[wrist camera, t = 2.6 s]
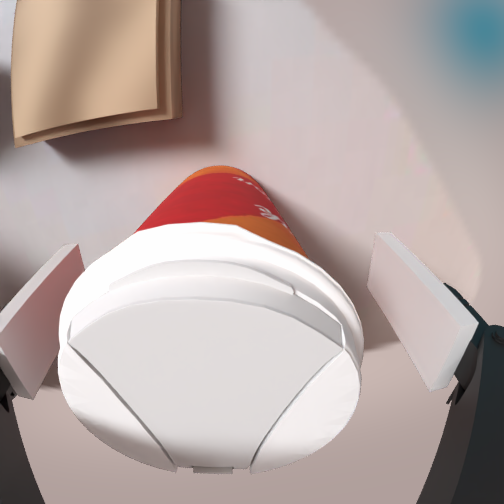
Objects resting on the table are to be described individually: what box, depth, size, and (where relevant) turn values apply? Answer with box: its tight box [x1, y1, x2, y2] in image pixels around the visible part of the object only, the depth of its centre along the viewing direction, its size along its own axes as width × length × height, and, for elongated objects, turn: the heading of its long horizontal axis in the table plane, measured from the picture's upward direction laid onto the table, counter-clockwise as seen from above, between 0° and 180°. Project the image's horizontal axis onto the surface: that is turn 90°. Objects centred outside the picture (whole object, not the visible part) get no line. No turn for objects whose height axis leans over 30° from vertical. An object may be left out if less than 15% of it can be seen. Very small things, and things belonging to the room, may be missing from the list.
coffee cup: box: [58, 166, 364, 474], centre depth 13 cm, size 8×8×15 cm
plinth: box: [11, 0, 182, 148], centre depth 13 cm, size 10×10×4 cm
